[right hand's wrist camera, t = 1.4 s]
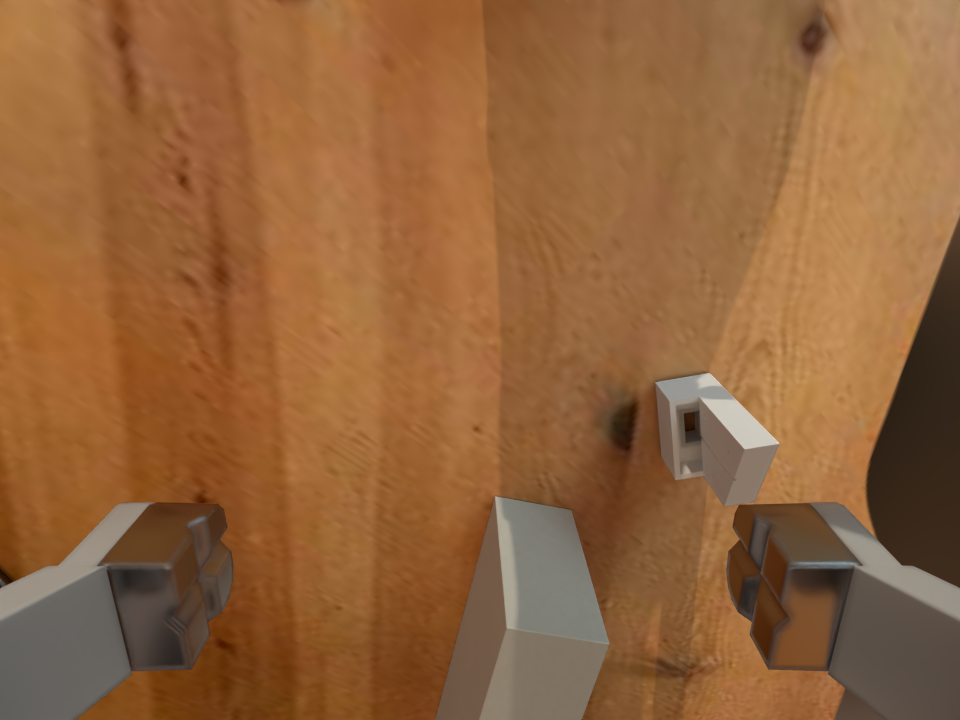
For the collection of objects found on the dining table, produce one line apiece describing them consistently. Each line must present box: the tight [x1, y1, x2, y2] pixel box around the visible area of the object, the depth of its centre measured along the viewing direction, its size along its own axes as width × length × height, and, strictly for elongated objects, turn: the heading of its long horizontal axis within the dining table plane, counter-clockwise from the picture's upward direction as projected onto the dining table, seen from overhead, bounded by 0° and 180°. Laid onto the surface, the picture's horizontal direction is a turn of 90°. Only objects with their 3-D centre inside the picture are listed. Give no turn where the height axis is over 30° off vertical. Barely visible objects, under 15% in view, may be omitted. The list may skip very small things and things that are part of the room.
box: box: [435, 496, 609, 720], centre depth 44 cm, size 22×6×13 cm, turn 167°
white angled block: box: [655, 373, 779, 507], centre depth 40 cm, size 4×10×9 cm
